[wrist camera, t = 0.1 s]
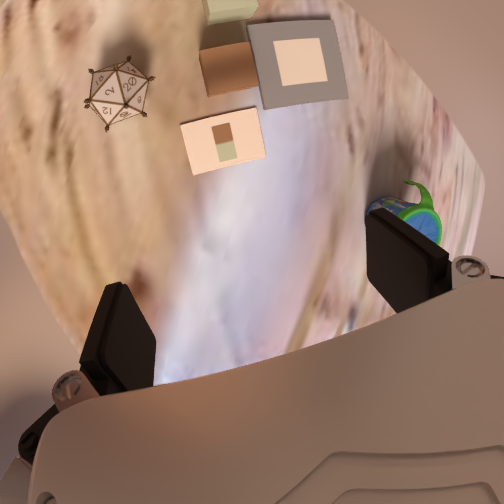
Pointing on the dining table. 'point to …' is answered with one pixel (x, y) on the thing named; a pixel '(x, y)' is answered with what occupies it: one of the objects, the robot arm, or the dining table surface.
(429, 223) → the snack cup
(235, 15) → the sage block
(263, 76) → the plate
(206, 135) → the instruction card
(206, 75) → the walnut block
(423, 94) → the dining table surface
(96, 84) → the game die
